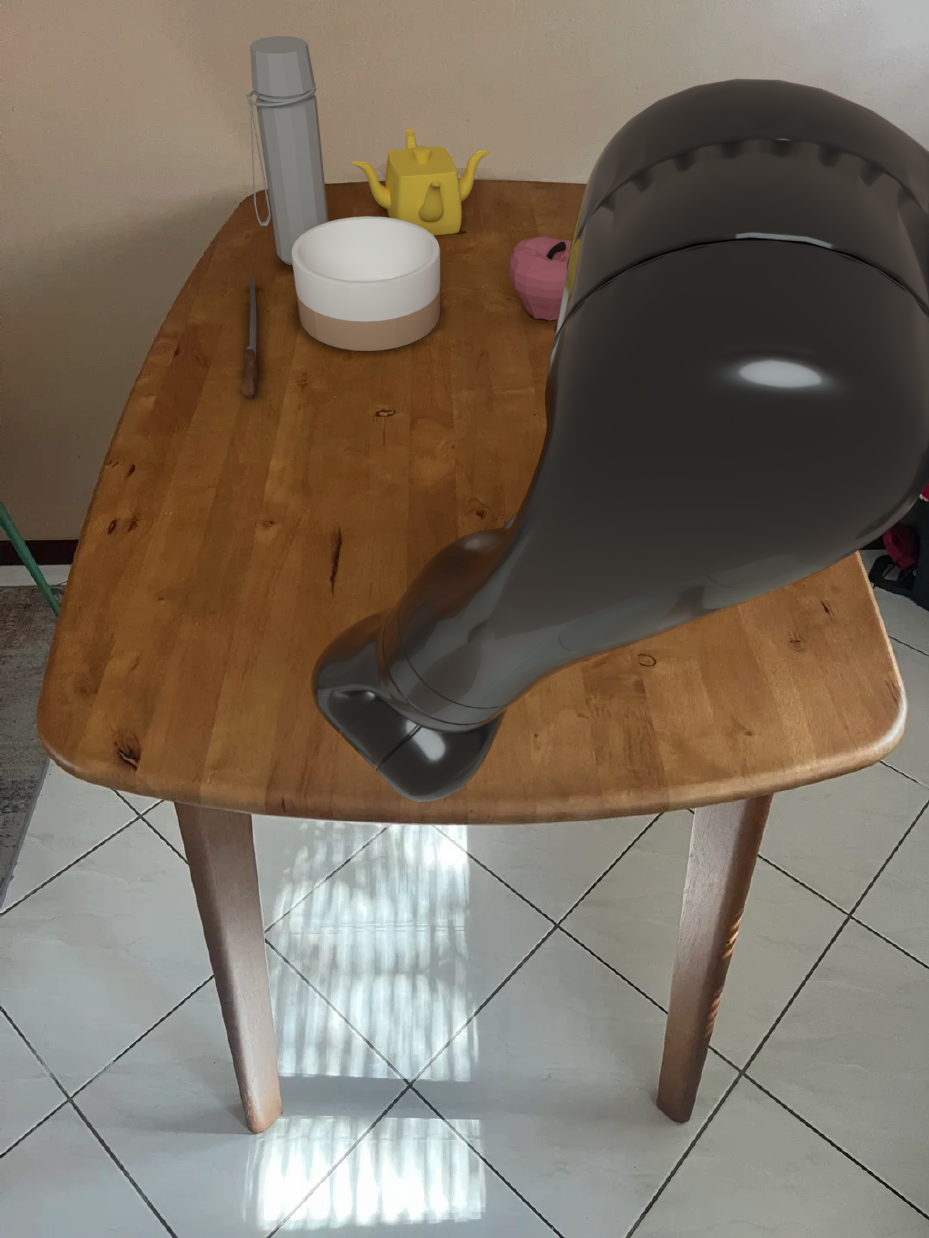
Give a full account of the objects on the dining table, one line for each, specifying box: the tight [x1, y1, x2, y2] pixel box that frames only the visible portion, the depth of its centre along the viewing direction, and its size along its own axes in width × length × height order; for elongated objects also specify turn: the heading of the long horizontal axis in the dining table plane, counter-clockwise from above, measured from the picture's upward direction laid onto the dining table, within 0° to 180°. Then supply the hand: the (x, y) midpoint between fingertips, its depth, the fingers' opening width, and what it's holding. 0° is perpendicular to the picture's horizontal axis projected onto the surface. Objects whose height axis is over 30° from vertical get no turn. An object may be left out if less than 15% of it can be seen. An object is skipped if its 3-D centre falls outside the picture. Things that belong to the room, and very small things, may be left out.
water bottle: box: [245, 35, 329, 267], centre depth 115 cm, size 9×8×25 cm
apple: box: [509, 235, 572, 321], centre depth 111 cm, size 10×9×10 cm
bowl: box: [292, 215, 441, 352], centre depth 111 cm, size 17×17×8 cm
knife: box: [240, 272, 259, 400], centre depth 108 cm, size 4×1×30 cm
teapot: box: [351, 128, 491, 237], centre depth 129 cm, size 15×14×10 cm
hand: (689, 424), depth 70 cm, fingers closed on pill bottle, 4 cm apart
